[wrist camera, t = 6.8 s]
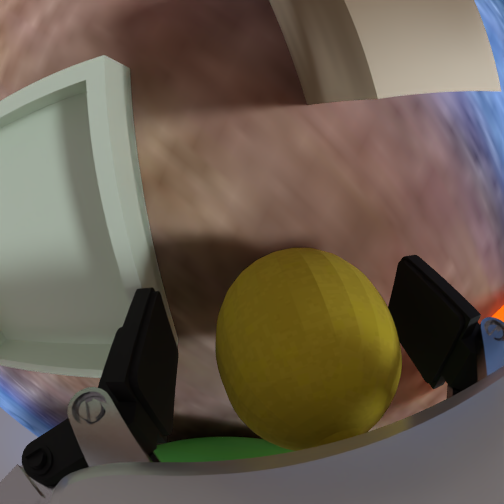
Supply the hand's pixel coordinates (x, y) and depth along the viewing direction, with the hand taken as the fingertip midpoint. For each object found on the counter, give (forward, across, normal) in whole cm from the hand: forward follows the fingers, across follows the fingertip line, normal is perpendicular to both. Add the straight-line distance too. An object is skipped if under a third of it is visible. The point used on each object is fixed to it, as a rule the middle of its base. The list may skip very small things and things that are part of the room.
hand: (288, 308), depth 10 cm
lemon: (+3, 0, 0) cm, 3 cm away
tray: (+3, +11, -3) cm, 11 cm away
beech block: (+3, -3, -10) cm, 11 cm away
